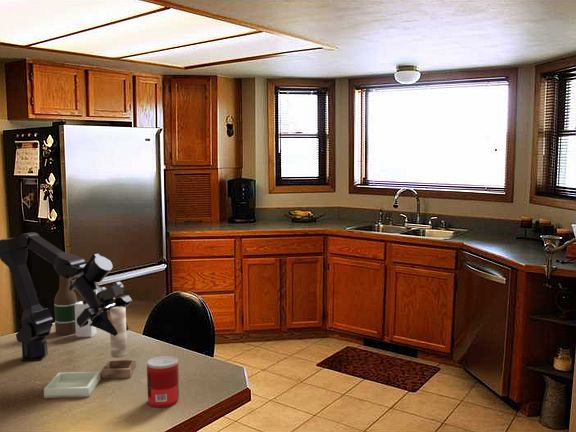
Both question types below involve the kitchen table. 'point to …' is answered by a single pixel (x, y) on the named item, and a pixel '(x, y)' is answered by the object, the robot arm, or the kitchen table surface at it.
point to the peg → (120, 325)
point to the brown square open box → (119, 368)
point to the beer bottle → (65, 309)
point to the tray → (72, 384)
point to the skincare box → (86, 330)
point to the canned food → (162, 381)
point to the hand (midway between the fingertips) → (122, 332)
